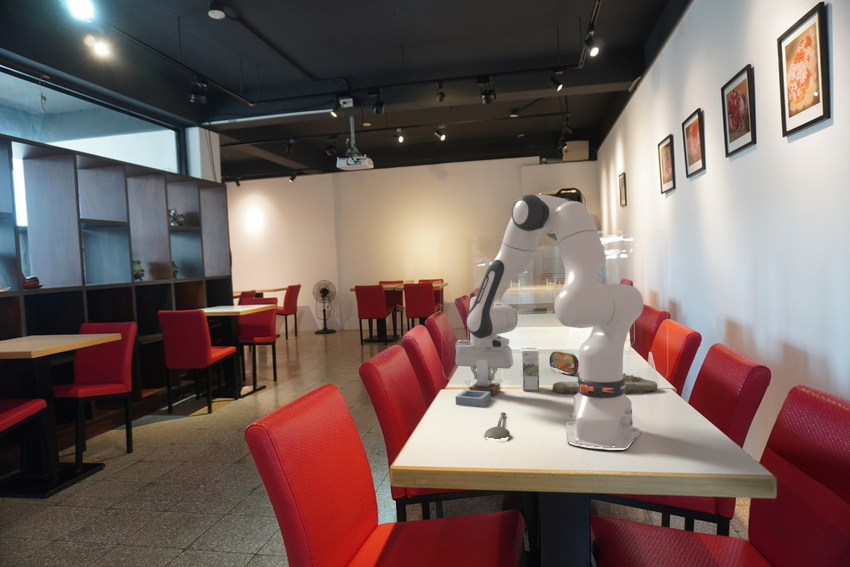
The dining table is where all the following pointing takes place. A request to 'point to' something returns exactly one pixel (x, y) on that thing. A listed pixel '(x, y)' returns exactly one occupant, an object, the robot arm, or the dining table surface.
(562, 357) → the tin
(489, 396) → the pair of square sockets
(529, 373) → the syrup box
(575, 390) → the elongated rock
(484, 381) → the steel peg
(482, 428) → the dining table surface
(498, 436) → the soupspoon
